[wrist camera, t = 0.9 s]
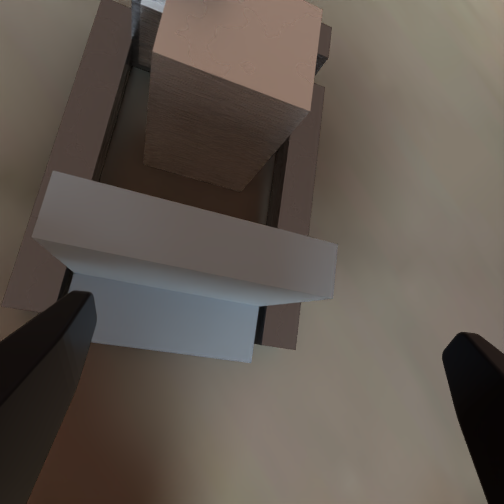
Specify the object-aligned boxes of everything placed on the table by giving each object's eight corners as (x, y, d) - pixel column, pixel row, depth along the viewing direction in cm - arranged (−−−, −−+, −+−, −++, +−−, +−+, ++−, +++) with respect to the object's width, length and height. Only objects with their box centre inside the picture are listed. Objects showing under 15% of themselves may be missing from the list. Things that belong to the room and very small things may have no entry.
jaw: (242, 359, 19) (324, 389, 11) (61, 336, 17) (-6, 352, 8) (256, 265, 21) (339, 229, 12) (91, 229, 18) (58, 153, 10)
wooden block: (240, 192, 21) (310, 111, 13) (143, 164, 20) (152, 51, 11) (252, 123, 23) (322, 9, 14) (161, 91, 21) (181, -59, 13)
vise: (280, 347, 20) (336, 357, 15) (15, 308, 16) (-44, 301, 11) (310, 104, 25) (362, 42, 19) (104, 25, 20) (95, -84, 15)
